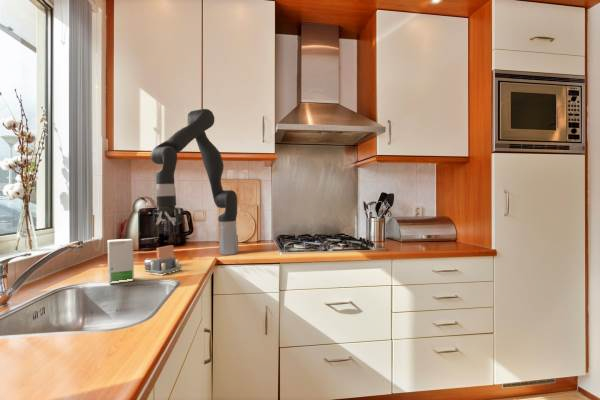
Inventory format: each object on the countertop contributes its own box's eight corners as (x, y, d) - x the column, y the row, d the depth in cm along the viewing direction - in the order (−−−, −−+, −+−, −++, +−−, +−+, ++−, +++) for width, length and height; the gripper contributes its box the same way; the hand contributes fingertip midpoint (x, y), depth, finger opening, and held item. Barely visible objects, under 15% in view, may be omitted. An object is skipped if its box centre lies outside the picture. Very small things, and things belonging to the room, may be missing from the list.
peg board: (168, 268, 148) (168, 258, 147) (181, 270, 144) (181, 259, 144) (148, 274, 139) (148, 262, 139) (161, 275, 135) (161, 264, 135)
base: (153, 267, 151) (153, 263, 151) (162, 268, 148) (161, 264, 148) (142, 270, 146) (141, 265, 146) (150, 271, 143) (150, 266, 143)
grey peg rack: (150, 267, 143) (149, 250, 143) (141, 266, 146) (140, 249, 145) (177, 261, 155) (176, 245, 155) (168, 260, 158) (167, 245, 158)
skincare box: (109, 285, 123) (107, 241, 123) (107, 281, 129) (106, 240, 128) (135, 281, 128) (133, 239, 127) (132, 277, 133) (130, 237, 133)
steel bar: (169, 266, 145) (169, 256, 145) (175, 267, 144) (175, 257, 144) (153, 270, 138) (153, 260, 138) (159, 271, 137) (159, 261, 137)
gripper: (185, 194, 143) (187, 233, 144) (160, 195, 149) (162, 232, 150) (172, 194, 136) (174, 235, 137) (146, 195, 142) (148, 234, 143)
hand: (168, 233), depth 143 cm, fingers open, 8 cm apart
